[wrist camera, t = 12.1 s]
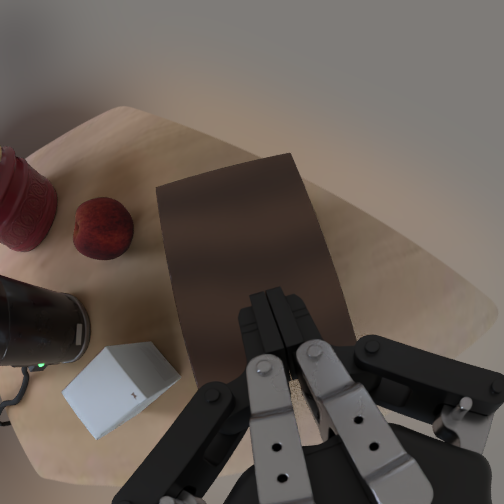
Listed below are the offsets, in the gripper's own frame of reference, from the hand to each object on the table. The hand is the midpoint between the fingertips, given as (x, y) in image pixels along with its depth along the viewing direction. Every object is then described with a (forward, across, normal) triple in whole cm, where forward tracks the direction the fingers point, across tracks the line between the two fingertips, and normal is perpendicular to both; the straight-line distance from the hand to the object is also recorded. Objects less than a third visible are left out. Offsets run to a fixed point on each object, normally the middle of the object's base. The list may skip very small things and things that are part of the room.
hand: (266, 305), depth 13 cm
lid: (+9, 0, +3) cm, 10 cm away
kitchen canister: (+29, +32, -4) cm, 44 cm away
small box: (+10, +15, +16) cm, 24 cm away
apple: (+23, +15, +3) cm, 27 cm away
